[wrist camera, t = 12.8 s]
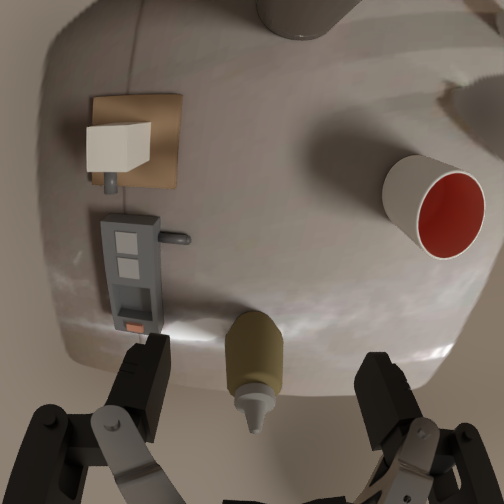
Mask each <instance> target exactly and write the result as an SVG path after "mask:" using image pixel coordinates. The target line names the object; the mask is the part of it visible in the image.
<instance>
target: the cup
mask: <svg viewBox="0 0 504 504" xmlns="http://www.w3.org/2000/svg"><path fill="white" fill-rule="evenodd" d="M382 201H383V206H384V209H385V212H386V214H387V216H388V217H389V219H390V220H391V221H392V222H393V223H394V224H395V225H396V226H397V227H398V228H399V229H400V230H401V231H402V232H404V233H405V234H406V235H407V236H408V237H409V238H410V239H411V240H412V241H413V242H414V243H415V244H416V245H418V246H419V247H420V248H421V249H422V250H423V251H424V252H425V253H426V254H427V255H428V256H430V257H432V258H435V259H439V260H447V259H452V258H454V257H457V256H459V255H460V254H462V253H463V252H464V251H466V250H467V249H468V248H469V247H470V246H471V245H472V243H473V242H474V241H475V239H476V238H477V236H478V234H479V232H480V230H481V227H482V225H483V221H484V217H485V197H484V193H483V190H482V187H481V185H480V184H479V182H478V181H477V179H476V178H475V177H474V176H473V175H471V174H470V173H468V172H466V171H464V170H461V169H459V168H456V167H454V166H451V165H448V164H446V163H443V162H440V161H438V160H435V159H432V158H429V157H426V156H422V155H412V156H408V157H405V158H403V159H401V160H400V161H398V162H397V163H396V164H395V165H394V166H393V167H392V168H391V169H390V171H389V172H388V174H387V176H386V178H385V181H384V184H383V189H382Z"/></svg>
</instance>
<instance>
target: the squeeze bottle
mask: <svg viewBox="0 0 504 504" xmlns="http://www.w3.org/2000/svg"><path fill="white" fill-rule="evenodd" d="M225 357H226V374H227V389H228V390H229V392H230V394H231V395H232V396H234V397H235V401H234V405H235V407H236V409H237V410H239V411H240V412H242V413H245V416H246V419H247V423H248V427H249V430H250V433H253V434H258V433H260V432H261V428H262V424H263V420H264V416H265V413H267V412H269V411H271V410H272V409H273V408H274V406H275V403H276V402H275V396H276V395H278V394H279V393H280V391H281V388H282V376H283V338H282V334H281V332H280V330H279V329H278V328H277V326H276V325H275V323H274V322H273V320H272V319H271V318H270V317H269V316H268V315H266V314H264V313H262V312H255V311H251V312H246V313H244V314H242V315H240V316H239V317H238V318H237V319H236V321H235V322H234V324H233V325H232V327H231V328H230V330H229V331H228V333H227V334H226V338H225Z"/></svg>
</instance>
